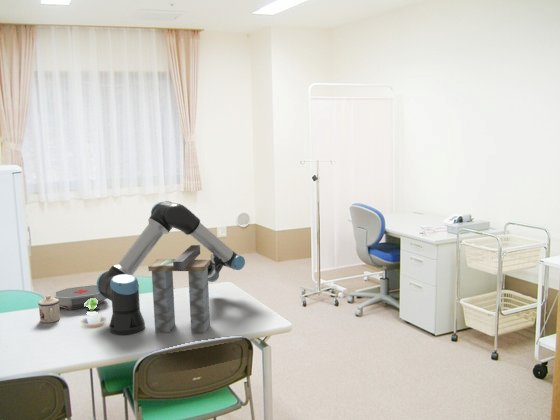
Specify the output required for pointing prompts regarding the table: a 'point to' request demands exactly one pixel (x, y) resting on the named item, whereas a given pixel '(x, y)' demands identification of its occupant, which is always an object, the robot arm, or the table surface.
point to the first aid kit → (77, 296)
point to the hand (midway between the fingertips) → (197, 256)
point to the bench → (165, 295)
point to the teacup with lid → (49, 309)
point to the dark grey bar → (186, 258)
